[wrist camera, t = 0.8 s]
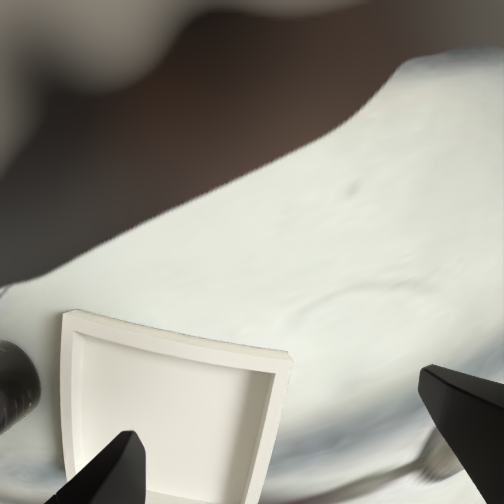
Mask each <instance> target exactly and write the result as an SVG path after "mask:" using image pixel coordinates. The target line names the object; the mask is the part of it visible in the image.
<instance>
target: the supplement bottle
mask: <svg viewBox="0 0 504 504" xmlns="http://www.w3.org/2000/svg"><path fill="white" fill-rule="evenodd" d="M40 395H41V386H40V380H39V376H38V373H37V371H36V368H35V366H34V365H33V363H32V361H31V360H30V358H29V357H28V356H27V354H26V353H25V352H24V351H23V350H22V349H20V348H19V347H18V346H16V345H15V344H13V343H10V342H7V341H0V435H2V434H3V433H4V432H5V431H7V430H8V429H9V428H11V427H12V426H13V425H14V424H16V423H17V422H18V421H20V420H21V419H22V418H23V417H25V416H26V415H27V414H29V413H30V412H31V411H32V410H33V409H34V408H35V407H36V406H37V404H38V402H39V400H40Z"/></svg>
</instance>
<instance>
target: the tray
mask: <svg viewBox="0 0 504 504" xmlns="http://www.w3.org/2000/svg"><path fill="white" fill-rule="evenodd" d="M292 366H293V360H292V358H291V356H290V355H289V353H288V352H287V351H281V350H273V349H266V348H260V347H253V346H247V345H240V344H234V343H228V342H222V341H217V340H211V339H206V338H200V337H195V336H190V335H185V334H180V333H175V332H170V331H166V330H161V329H156V328H152V327H147V326H143V325H139V324H134V323H130V322H126V321H122V320H118V319H114V318H110V317H106V316H102V315H98V314H95V313H91V312H87V311H84V310H80V309H76V310H73V311H69V312H66V313H63V319H62V333H61V353H60V409H61V429H62V442H63V453H64V462H65V470H66V478H67V482H68V481H70V480H71V479H72V478H73V477H74V476H75V475H76V474H77V473H78V472H79V471H80V470H81V469H82V468H83V467H85V466H86V465H87V464H88V463H89V462H90V461H91V460H92V459H93V458H94V457H95V456H96V455H97V454H98V453H99V452H100V451H101V450H102V449H103V448H105V447H106V446H107V445H108V444H109V443H110V442H111V441H112V440H113V439H114V438H115V437H116V436H117V435H118V434H119V433H120V432H121V431H124V430H134V431H135V432H136V433H137V435H138V436H139V438H140V440H141V442H142V444H143V446H144V448H145V451H146V500H145V504H258V501H259V497H260V494H261V490H262V487H263V483H264V480H265V476H266V472H267V469H268V465H269V461H270V458H271V454H272V450H273V446H274V442H275V438H276V434H277V430H278V426H279V422H280V418H281V414H282V410H283V406H284V401H285V397H286V393H287V388H288V384H289V379H290V375H291V370H292Z"/></svg>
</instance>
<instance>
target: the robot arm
mask: <svg viewBox="0 0 504 504" xmlns="http://www.w3.org/2000/svg"><path fill="white" fill-rule="evenodd" d="M418 392H419V395H420V397H421V398H422V400H423V402H424V404H425V406H426V408H427V410H428V412H429V414H430V415H431V417H432V419H433V421H434V423H435V425H436V427H437V428H438V430H439V431H440V433H441V434H442V436H443V437H444V439H445V440H446V442H447V443H448V445H449V446H450V448H451V449H452V451H453V452H454V454H455V455H456V457H457V458H458V460H459V461H460V463H461V464H462V466H463V467H464V469H465V470H466V472H467V473H468V475H469V476H470V478H471V479H472V481H473V483H474V484H475V486H476V487H477V489H478V490H479V492H480V494H481V495H482V497H483V498H484V500H485V501H486V503H487V504H504V384H501V383H498V382H494V381H490V380H486V379H483V378H479V377H475V376H472V375H468V374H465V373H461V372H458V371H454V370H451V369H447V368H444V367H440V366H437V365H433V364H431V365H428V366H426V367H423V368H422V369H421V371H420V376H419V384H418ZM145 500H146V451H145V448H144V446H143V444H142V442H141V440H140V438H139V436H138V435H137V433H136V432H135V431H134V430H124V431H121V432H120V433H119V434H118V435H117V436H116V437H115V438H114V439H113V440H112V441H111V442H110V443H109V444H108V445H107V446H106V447H105V448H103V449H102V450H101V451H100V452H99V453H98V454H97V455H96V456H95V457H94V458H93V459H92V460H91V461H90V462H89V463H88V464H87V465H86V466H85V467H83V468H82V469H81V470H80V471H79V472H78V473H77V474H76V475H75V476H74V477H73V478H72V479H71V480H70V481H68V482H67V483H66V484H65V485H64V486H63V487H62V488H61V489H60V490H59V491H58V492H57V493H56V495H55V494H54V495H53V496H52V497H51V498H50V499H49V500H48V501H46V502H45V503H44V504H145Z"/></svg>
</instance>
